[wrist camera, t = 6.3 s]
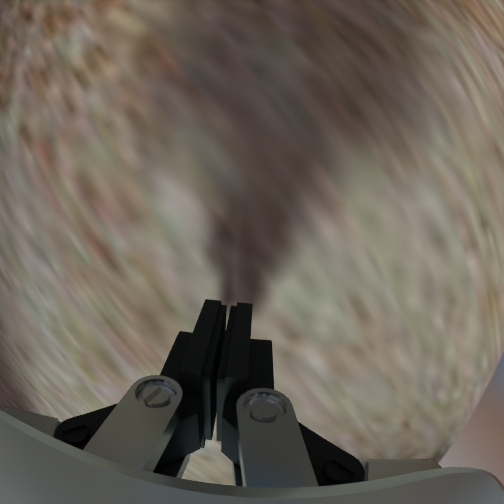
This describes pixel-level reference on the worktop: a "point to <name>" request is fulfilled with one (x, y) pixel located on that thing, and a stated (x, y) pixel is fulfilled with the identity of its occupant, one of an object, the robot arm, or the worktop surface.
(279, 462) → the robot arm
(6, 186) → the worktop surface
